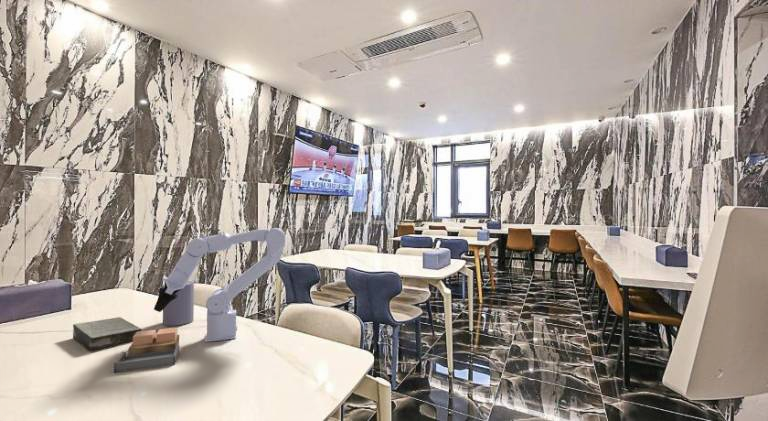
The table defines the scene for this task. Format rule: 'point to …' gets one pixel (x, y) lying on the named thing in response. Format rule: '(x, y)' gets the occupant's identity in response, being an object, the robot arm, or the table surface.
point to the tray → (146, 360)
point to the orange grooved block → (153, 347)
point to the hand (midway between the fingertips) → (159, 306)
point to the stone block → (104, 333)
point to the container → (180, 307)
